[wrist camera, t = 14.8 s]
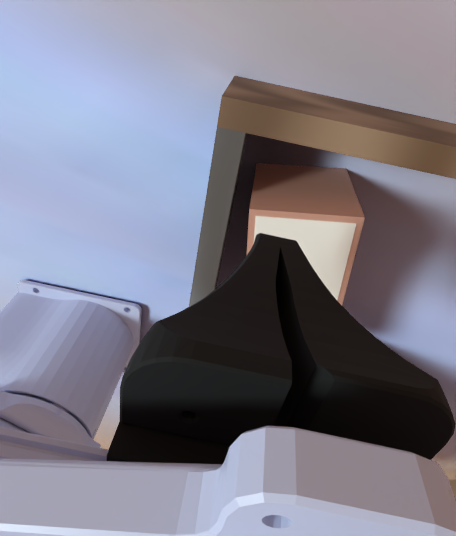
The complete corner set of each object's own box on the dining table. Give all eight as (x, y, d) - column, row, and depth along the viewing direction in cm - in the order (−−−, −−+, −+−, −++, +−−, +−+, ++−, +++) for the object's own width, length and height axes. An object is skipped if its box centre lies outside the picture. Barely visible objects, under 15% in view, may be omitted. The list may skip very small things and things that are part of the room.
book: (247, 297, 27) (239, 361, 22) (256, 162, 22) (249, 209, 17) (317, 303, 27) (325, 370, 22) (346, 167, 21) (365, 218, 16)
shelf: (198, 291, 27) (183, 341, 23) (234, 75, 19) (221, 95, 15) (426, 339, 27) (451, 398, 23) (563, 147, 19) (638, 187, 15)
